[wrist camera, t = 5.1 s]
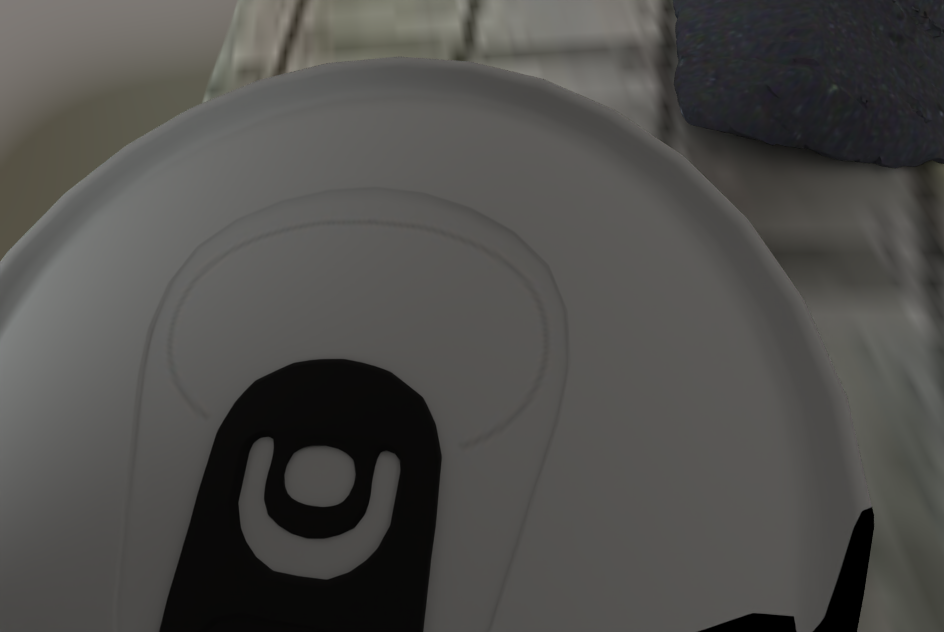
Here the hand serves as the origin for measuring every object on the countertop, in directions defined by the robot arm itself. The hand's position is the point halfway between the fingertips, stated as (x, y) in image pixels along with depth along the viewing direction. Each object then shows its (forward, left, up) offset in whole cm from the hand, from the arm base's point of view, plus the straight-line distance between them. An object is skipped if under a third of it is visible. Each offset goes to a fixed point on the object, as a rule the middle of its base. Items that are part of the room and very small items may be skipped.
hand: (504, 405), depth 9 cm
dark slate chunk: (+25, -15, -14) cm, 32 cm away
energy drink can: (-1, 0, -8) cm, 8 cm away
